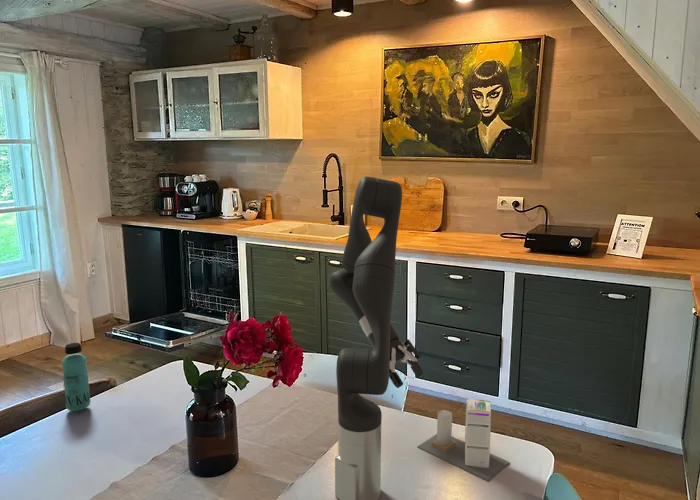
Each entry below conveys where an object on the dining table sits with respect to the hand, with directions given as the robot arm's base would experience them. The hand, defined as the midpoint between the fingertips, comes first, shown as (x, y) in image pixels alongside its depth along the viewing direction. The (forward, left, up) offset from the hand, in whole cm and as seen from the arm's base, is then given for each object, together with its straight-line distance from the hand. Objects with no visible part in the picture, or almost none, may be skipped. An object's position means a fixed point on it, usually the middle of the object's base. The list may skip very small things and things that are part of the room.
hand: (411, 381), depth 143 cm
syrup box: (0, -20, -14) cm, 25 cm away
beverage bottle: (-58, +74, -14) cm, 95 cm away
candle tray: (0, -16, -14) cm, 22 cm away
